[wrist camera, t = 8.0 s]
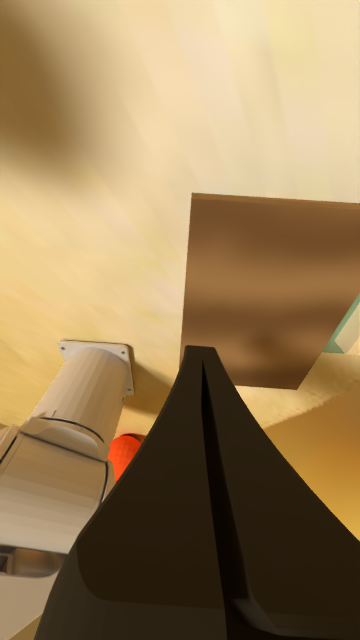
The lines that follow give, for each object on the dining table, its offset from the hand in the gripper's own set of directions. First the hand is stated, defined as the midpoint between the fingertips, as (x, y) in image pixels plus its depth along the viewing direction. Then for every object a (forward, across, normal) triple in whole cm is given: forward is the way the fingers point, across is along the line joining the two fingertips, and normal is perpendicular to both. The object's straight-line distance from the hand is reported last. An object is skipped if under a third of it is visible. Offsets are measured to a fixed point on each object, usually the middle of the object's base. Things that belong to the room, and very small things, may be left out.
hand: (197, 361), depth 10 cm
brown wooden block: (+10, -5, +2) cm, 12 cm away
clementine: (+11, +8, +33) cm, 36 cm away
